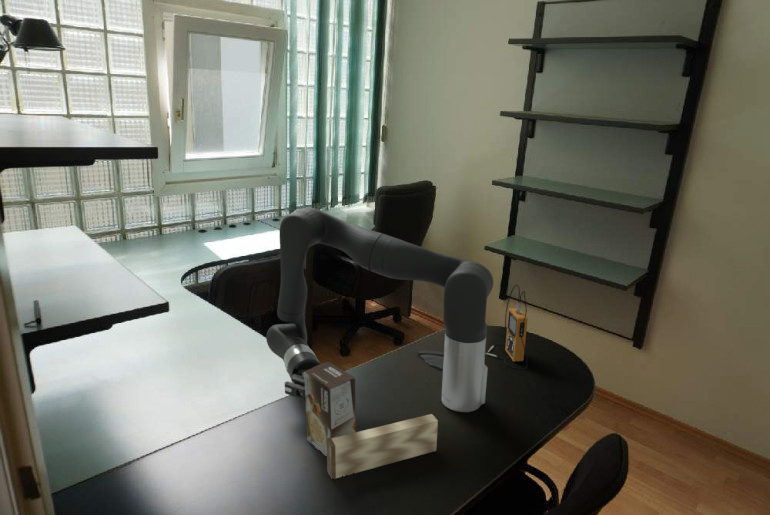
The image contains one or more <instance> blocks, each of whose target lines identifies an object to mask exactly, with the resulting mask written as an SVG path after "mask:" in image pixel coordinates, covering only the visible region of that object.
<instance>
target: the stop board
mask: <svg viewBox="0 0 770 515" xmlns="http://www.w3.org/2000/svg"><path fill="white" fill-rule="evenodd" d="M438 422H439V420H438V419H437V418H436V417H435V416H434V415H433V414H432V413H430V414H425V415H422V416H417V417H413V418H409V419H405V420H401V421H397V422H393V423H389V424H385V425H381V426H377V427H373V428H367V429H365V430H360V431H355V433H351V434H347V435H343V436H339V437H335V438H331V437H330V438H327V457H326V470H327V473H328V475H330V476H329V478H330V477H331V478H330V479H334V480H336V479H338V478H339V479H340V478H342V476H343V477H346V475H347V476H349V475H353V473H354V474H357V473H361V472H364V471H368V470H372V469H375V468H379V467H383V466H385V465H386V466H387V465H389V464H394V463H397V462H400V461H403V460H408V459H412V458H416V457H419V456H421V455H426V454H429V453H433V452H437V444H438V443H437V442H438V426H439V425H438Z"/></svg>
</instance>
